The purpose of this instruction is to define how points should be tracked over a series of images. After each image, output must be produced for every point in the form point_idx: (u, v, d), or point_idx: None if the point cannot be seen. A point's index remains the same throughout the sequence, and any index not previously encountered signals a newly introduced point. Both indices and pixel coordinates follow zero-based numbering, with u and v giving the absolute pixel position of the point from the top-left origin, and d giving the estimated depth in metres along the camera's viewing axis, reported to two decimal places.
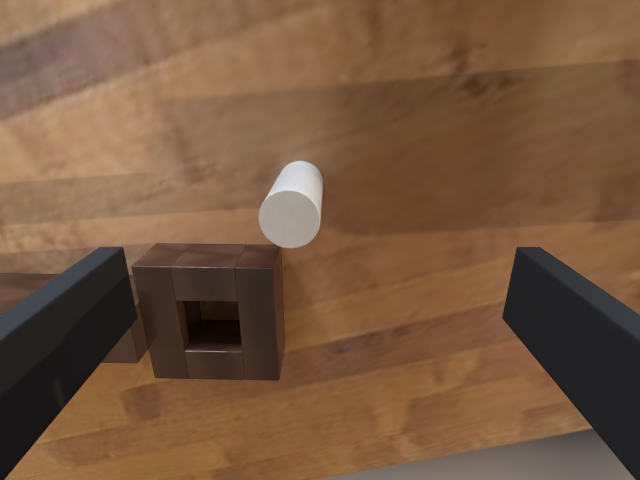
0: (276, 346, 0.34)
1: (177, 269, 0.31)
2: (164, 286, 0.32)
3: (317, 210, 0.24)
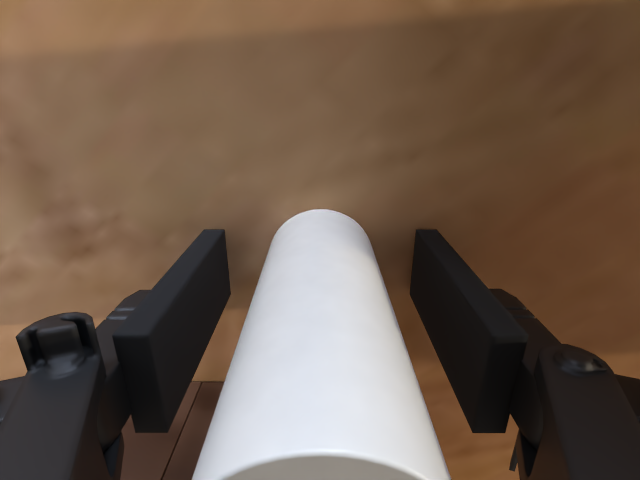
0: None
1: None
2: None
3: None
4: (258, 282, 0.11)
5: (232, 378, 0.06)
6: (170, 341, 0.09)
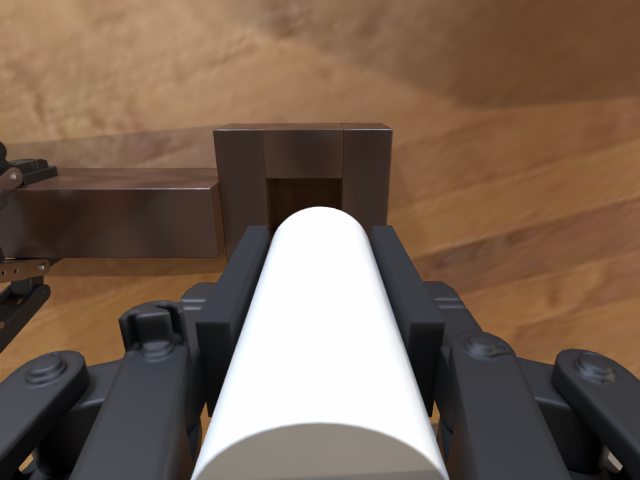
0: None
1: (271, 133, 0.25)
2: (252, 157, 0.25)
3: None
4: (260, 276, 0.11)
5: (237, 361, 0.07)
6: (240, 330, 0.09)
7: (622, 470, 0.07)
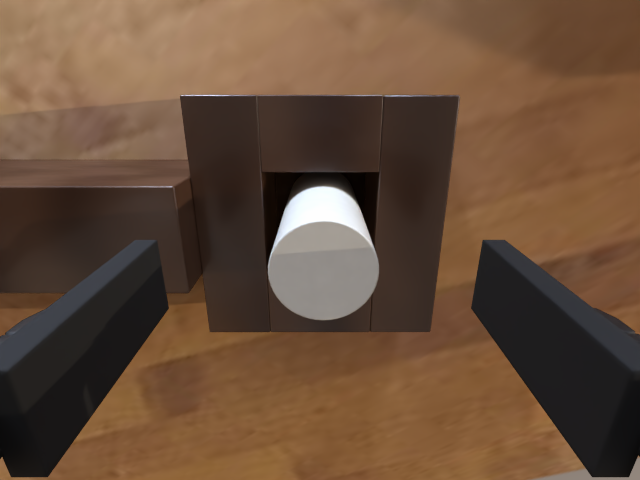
0: (437, 265, 0.19)
1: (271, 100, 0.16)
2: (241, 139, 0.16)
3: (375, 255, 0.13)
4: (287, 202, 0.19)
5: (284, 222, 0.15)
6: (53, 373, 0.08)
7: None
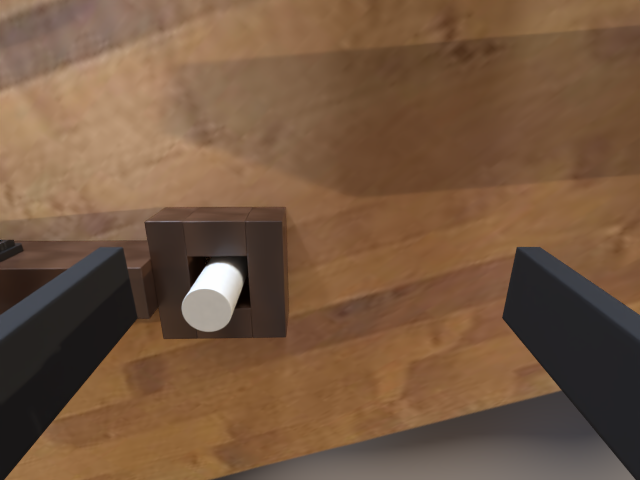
0: (283, 301, 0.35)
1: (189, 224, 0.32)
2: (176, 241, 0.33)
3: (228, 302, 0.30)
4: None
5: (193, 285, 0.31)
6: None
7: None
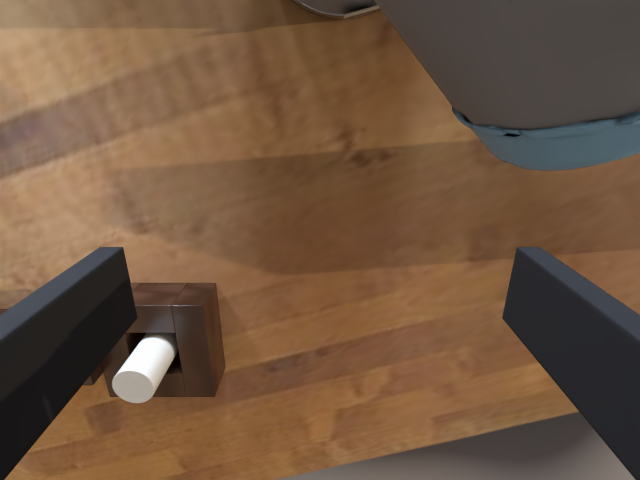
0: (210, 368, 0.41)
1: None
2: None
3: (151, 381, 0.35)
4: (142, 339, 0.41)
5: None
6: None
7: None
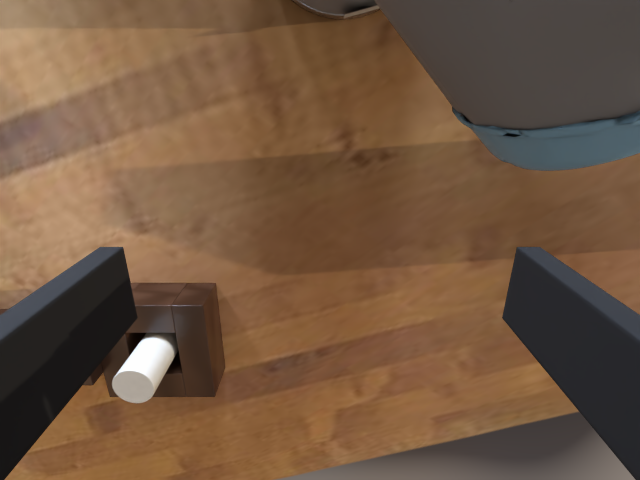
0: (210, 368, 0.41)
1: None
2: None
3: (151, 381, 0.35)
4: (142, 339, 0.41)
5: None
6: None
7: None
